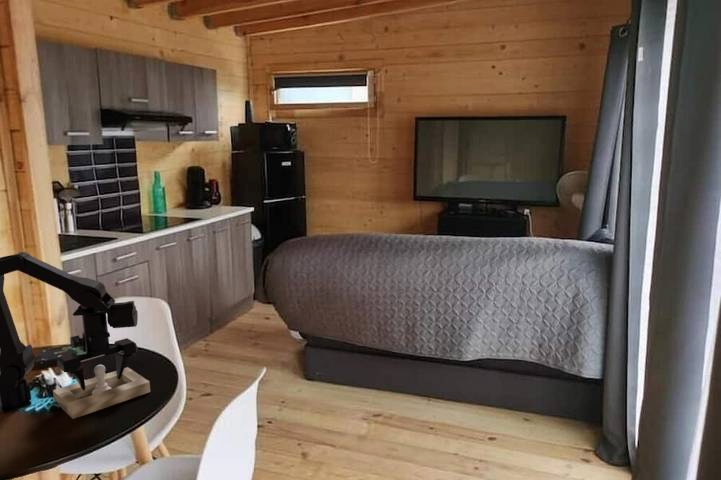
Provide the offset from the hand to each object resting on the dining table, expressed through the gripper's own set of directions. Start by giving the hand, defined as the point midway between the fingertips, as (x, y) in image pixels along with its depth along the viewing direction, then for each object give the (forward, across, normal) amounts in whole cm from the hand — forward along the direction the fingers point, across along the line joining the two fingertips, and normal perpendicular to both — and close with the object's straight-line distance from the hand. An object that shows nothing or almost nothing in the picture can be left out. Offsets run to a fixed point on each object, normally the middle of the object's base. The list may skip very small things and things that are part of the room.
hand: (101, 384), depth 147 cm
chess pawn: (+4, 0, 0) cm, 4 cm away
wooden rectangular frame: (+4, 0, 0) cm, 4 cm away
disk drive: (+4, -2, -36) cm, 36 cm away
